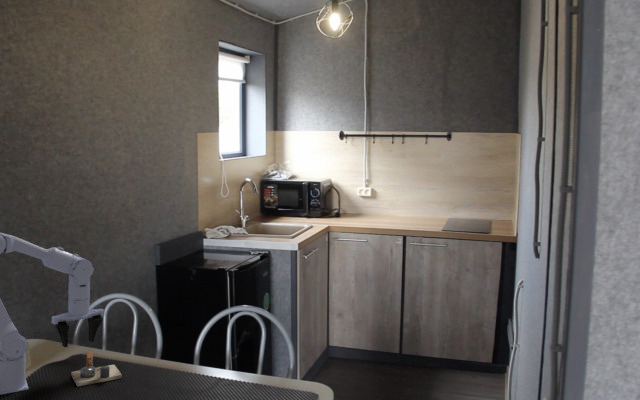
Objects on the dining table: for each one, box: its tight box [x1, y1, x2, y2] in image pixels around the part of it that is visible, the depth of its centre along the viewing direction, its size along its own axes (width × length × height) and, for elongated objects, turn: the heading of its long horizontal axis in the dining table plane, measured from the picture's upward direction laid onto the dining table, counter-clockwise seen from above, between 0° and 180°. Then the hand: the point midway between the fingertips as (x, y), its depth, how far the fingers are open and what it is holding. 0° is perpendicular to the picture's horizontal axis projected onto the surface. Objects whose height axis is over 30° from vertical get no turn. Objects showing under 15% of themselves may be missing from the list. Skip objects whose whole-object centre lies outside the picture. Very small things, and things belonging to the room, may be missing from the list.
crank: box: [79, 351, 96, 378], centre depth 157 cm, size 12×4×3 cm, turn 19°
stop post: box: [100, 365, 109, 378], centre depth 153 cm, size 2×2×3 cm
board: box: [70, 364, 123, 387], centre depth 156 cm, size 12×9×1 cm
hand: (78, 343), depth 158 cm, fingers open, 7 cm apart
